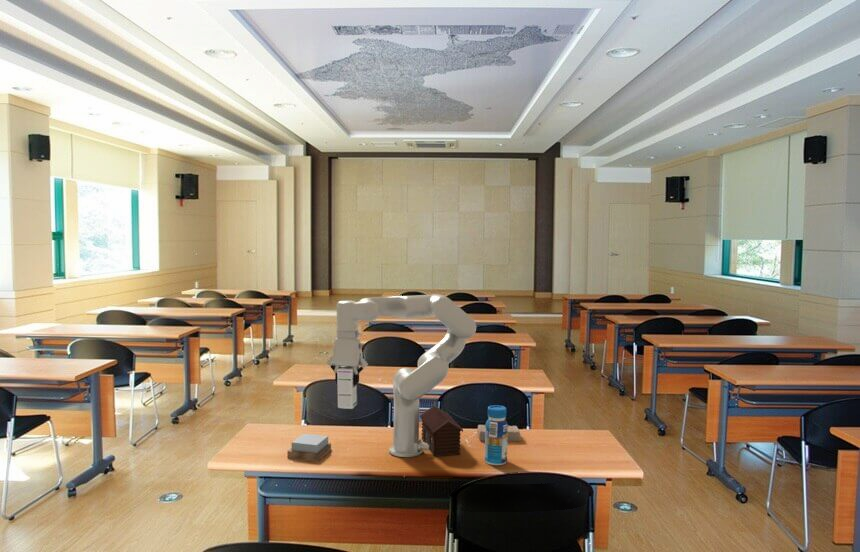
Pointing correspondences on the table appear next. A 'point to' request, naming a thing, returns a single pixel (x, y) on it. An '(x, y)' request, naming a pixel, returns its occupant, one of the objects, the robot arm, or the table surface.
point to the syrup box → (346, 388)
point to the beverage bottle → (496, 436)
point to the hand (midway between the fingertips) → (347, 383)
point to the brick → (512, 430)
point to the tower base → (309, 454)
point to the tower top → (309, 443)
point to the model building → (440, 432)
